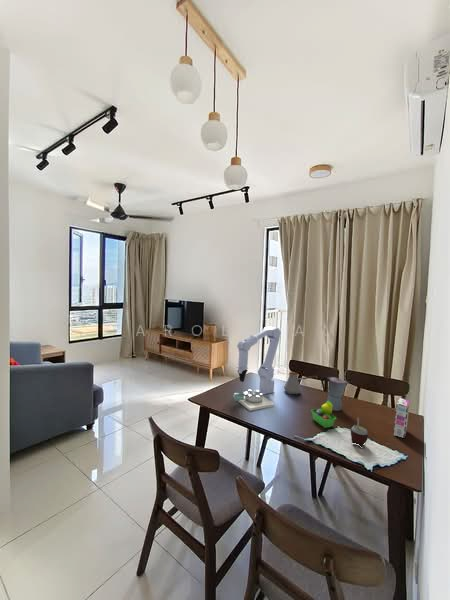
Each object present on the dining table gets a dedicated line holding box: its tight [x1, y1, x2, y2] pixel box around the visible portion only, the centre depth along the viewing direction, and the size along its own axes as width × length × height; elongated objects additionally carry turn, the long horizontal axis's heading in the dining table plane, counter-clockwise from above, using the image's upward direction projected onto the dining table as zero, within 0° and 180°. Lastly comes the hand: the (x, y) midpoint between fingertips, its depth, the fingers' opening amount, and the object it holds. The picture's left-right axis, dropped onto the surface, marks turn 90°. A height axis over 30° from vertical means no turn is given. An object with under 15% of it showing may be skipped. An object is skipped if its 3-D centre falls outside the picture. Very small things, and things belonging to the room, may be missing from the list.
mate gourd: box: [350, 416, 369, 447], centre depth 120 cm, size 8×8×15 cm
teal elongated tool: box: [233, 389, 264, 403], centre depth 159 cm, size 18×11×5 cm, turn 114°
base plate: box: [233, 395, 275, 412], centre depth 161 cm, size 17×19×2 cm
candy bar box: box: [393, 397, 411, 439], centre depth 133 cm, size 11×5×16 cm, turn 141°
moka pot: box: [320, 375, 350, 412], centre depth 158 cm, size 10×15×20 cm, turn 78°
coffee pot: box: [283, 372, 318, 395], centre depth 176 cm, size 21×12×15 cm, turn 57°
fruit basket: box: [311, 400, 337, 429], centre depth 139 cm, size 11×9×11 cm
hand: (242, 381), depth 166 cm, fingers closed
